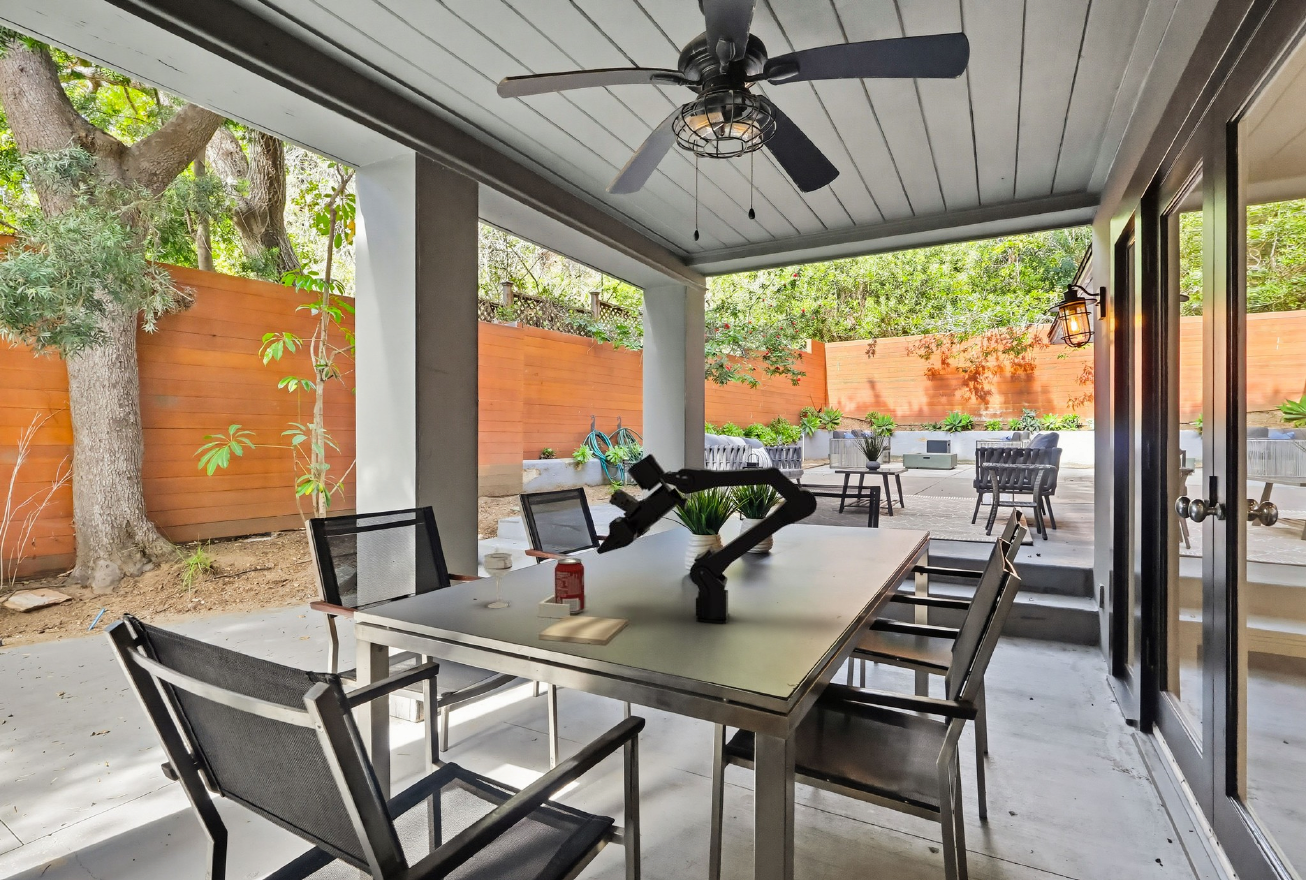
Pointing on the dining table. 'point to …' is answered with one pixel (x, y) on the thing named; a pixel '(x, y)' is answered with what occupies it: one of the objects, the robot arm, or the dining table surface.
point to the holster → (554, 608)
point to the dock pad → (584, 630)
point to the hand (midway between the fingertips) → (603, 548)
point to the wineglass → (497, 571)
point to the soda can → (570, 584)
